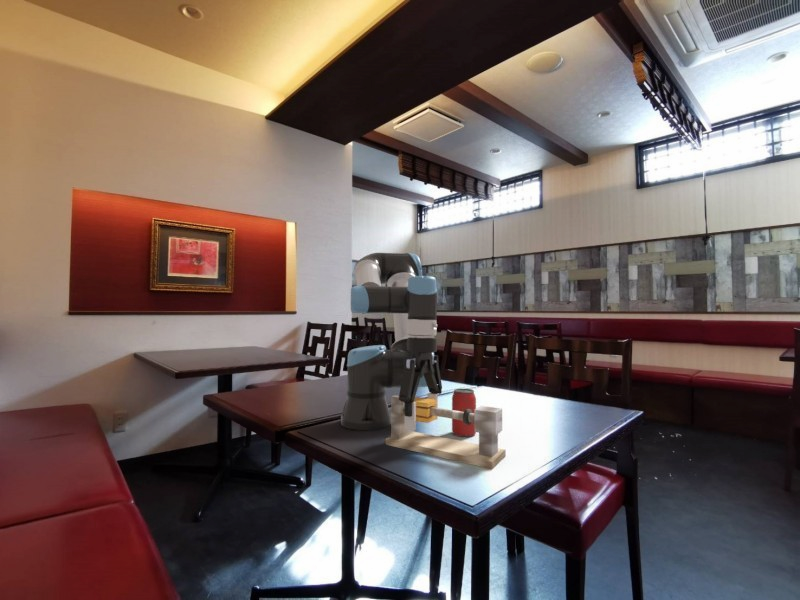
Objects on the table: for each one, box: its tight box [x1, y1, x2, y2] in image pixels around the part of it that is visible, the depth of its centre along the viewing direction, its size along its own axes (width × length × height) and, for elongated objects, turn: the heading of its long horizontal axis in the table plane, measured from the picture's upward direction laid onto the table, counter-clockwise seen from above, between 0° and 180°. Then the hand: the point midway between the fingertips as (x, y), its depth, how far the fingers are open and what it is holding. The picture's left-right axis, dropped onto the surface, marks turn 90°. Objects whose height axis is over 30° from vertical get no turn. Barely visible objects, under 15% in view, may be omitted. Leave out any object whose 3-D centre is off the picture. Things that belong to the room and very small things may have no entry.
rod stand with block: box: [385, 394, 507, 470], centre depth 94 cm, size 28×9×12 cm, turn 57°
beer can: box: [451, 388, 477, 438], centre depth 107 cm, size 7×7×12 cm
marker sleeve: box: [414, 396, 438, 424], centre depth 97 cm, size 6×5×5 cm
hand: (421, 423), depth 97 cm, fingers open, 11 cm apart
